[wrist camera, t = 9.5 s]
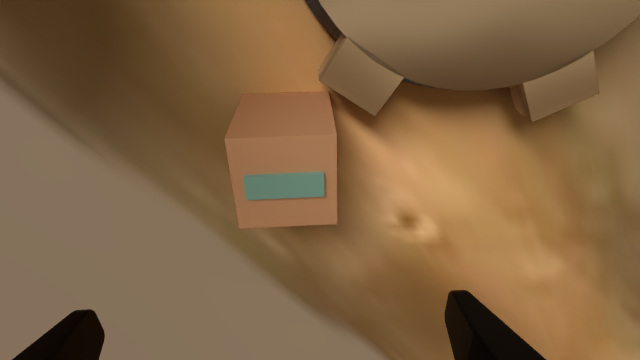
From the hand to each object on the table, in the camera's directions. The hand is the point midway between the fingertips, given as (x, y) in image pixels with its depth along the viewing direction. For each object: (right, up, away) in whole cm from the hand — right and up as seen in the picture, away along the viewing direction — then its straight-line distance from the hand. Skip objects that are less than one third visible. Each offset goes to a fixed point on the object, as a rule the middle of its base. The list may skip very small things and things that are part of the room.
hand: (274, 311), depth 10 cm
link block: (0, +6, +10) cm, 11 cm away
